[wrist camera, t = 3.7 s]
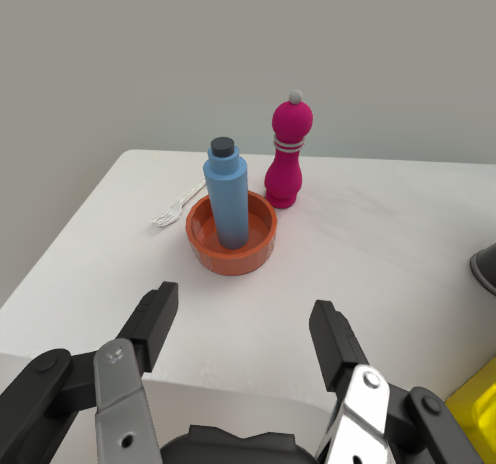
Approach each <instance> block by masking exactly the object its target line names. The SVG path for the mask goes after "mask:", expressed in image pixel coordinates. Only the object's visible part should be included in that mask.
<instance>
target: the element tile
mask: <svg viewBox="0 0 496 464" xmlns="http://www.w3.org/2000/svg"><path fill="white" fill-rule="evenodd" d="M445 405H446V406H447V407H448V409H449V410H450V412H451V413H452V415H453V416H454V418H455V419H456V421H457V422H458V424H459V425H460V427H461V428H462V430H463V432H464V433H465V435H466V436H467V438H468V439H469V441H470V442H471V444H472V445H473V447H474V448H475V450H476V451H477V453H478V454H479V456H480V457H481V459H482V460H483V462H484V464H496V356H495V357H494V358H493V359H492V360H491V361H490V362H489V363H487V364H486V365H485V366H484V367H483V368H482V369H481V370H480V371H478V372H477V373H476V374H475V375H474V376H473V377H472V378H471V379H470V380H468V381H467V382H466V383H465V384H464V385H463V386H462V387H461V388H459V389H458V390H457V391H456V392H455V393H454V394H453V395H452V396H450V397H449V398H448V399H447V400H446V402H445Z"/></svg>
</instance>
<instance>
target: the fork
mask: <svg viewBox="0 0 496 464" xmlns="http://www.w3.org/2000/svg"><path fill="white" fill-rule="evenodd" d="M205 184H206V180H205V179H204V180H203V181H202V182H200V183H199V184H198V185H197V186H196V187H195V188H194V189H193V190H191V191H190V192H189V193H188V194H187V195H186V196H185V197H184V198H182V199H181V200H180V201H179V202H178V203H176V204H175V205H173V206H171V207H170V208H169V209H168V210H167V211H166V212H165V213H164V214H162V215H161V216H159V217H157V218H155V219H154V220H151V221H149V222H153V221H156V220H158V221H156V222H153V224H154V223H157V224H155V225H159V224H161V225H159V226H164V225H167V224H170V223H172V222H174V221H176V220H177V219H179V218H180V217H181V215H182V206H183V205H184V204H185V203H186V202H187V201H188V200H189V199H190V198H191V197H192V196H193V195H194V194H195V193H196V192H197V191H198V190H199V189H201V188H202V187H203V186H204V185H205ZM161 218H162V219H161ZM159 219H161V220H159ZM165 219H166V220H165ZM170 219H171V220H170ZM163 220H164V221H163ZM161 221H162V222H161ZM158 222H160V223H158ZM165 222H166V223H165ZM162 223H164V224H162Z"/></svg>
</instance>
